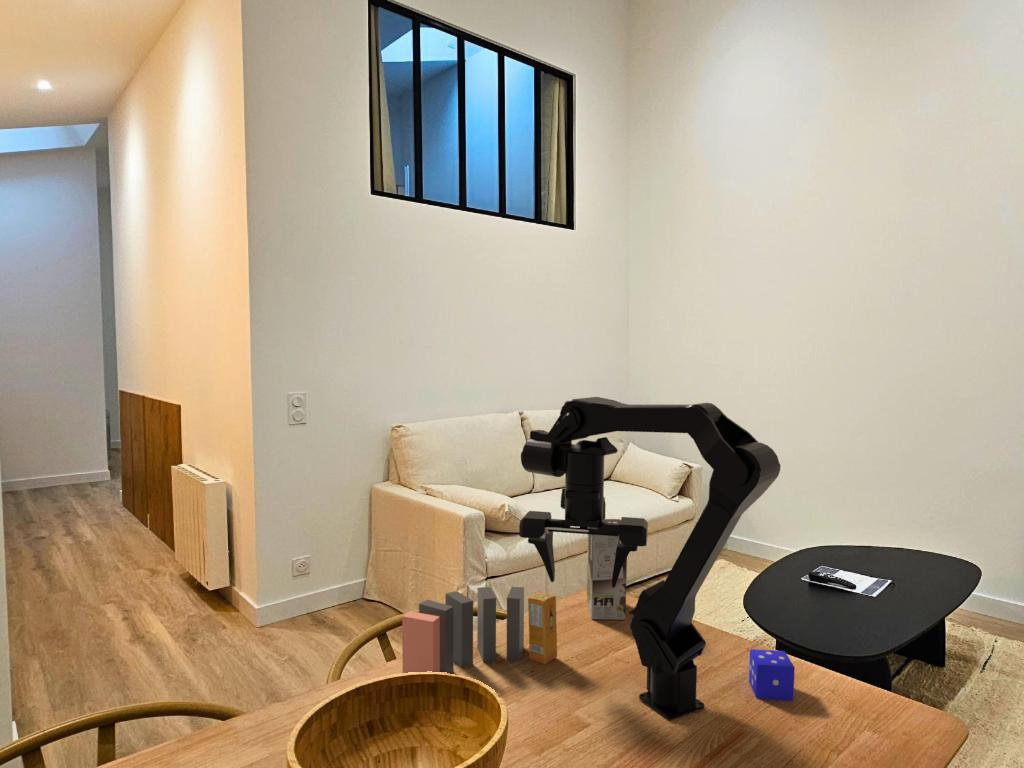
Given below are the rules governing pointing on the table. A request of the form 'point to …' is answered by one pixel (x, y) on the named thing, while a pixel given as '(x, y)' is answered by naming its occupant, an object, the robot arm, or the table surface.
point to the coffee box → (605, 578)
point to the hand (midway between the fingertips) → (582, 583)
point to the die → (771, 675)
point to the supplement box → (542, 628)
